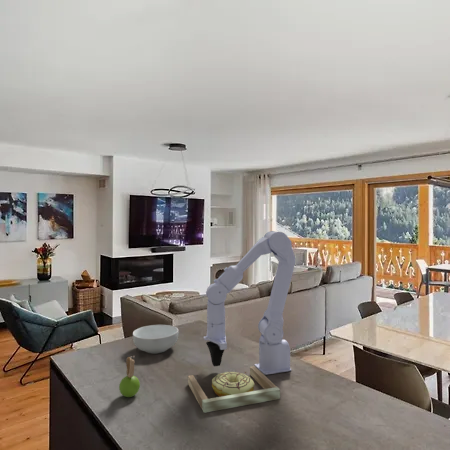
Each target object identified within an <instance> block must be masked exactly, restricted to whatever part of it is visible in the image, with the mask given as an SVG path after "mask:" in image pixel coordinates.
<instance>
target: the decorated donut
mask: <svg viewBox="0 0 450 450" xmlns="http://www.w3.org/2000/svg"><path fill="white" fill-rule="evenodd" d="M254 387H255V382H254V379H253V378H251V376H249V375H247V374H245V373H241V372H238V371H224V372H222V373H218V374H217V375H215V376H214V377H213V378H212V379H211V388H212V390H213V392H214V393H215V395H216V396H217V397H222V396H228V395H234V394H239V393H245V392H251V391H255V388H254Z"/></svg>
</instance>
